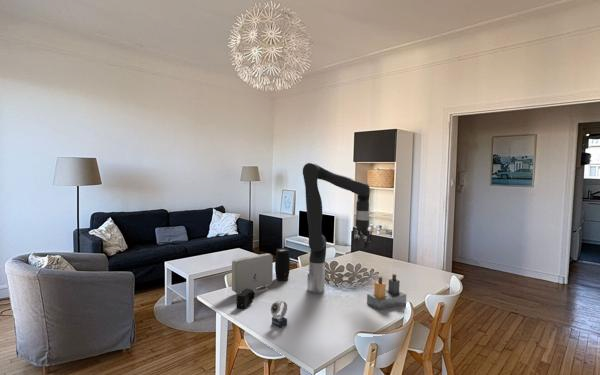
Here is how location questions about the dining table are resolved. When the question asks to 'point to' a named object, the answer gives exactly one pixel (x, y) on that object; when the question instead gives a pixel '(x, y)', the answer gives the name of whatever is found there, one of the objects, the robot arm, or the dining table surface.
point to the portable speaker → (282, 264)
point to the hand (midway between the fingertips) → (361, 246)
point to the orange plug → (380, 288)
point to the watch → (279, 319)
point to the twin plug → (393, 285)
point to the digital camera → (245, 298)
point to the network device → (252, 272)
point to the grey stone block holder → (386, 300)
